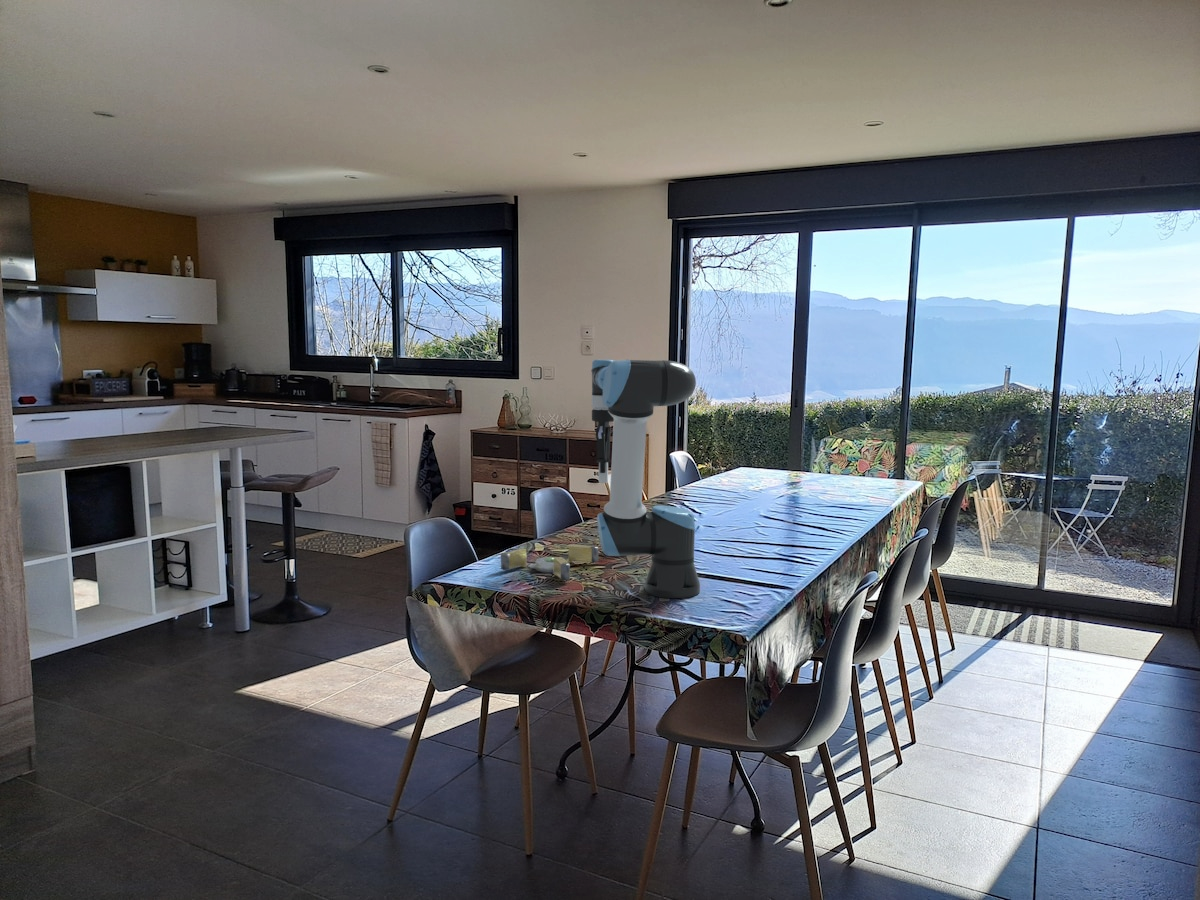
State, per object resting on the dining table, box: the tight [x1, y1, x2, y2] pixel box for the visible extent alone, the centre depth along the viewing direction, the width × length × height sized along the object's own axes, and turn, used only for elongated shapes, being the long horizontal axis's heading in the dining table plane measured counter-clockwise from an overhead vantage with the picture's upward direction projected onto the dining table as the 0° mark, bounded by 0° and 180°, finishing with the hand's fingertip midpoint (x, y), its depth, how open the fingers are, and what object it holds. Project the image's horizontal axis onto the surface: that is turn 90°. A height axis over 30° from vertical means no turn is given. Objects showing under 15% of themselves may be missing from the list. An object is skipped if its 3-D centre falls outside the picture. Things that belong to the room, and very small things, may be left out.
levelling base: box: [529, 556, 555, 575], centre depth 243 cm, size 12×11×3 cm
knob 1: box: [553, 556, 571, 581], centre depth 231 cm, size 10×3×6 cm, turn 18°
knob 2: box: [566, 544, 599, 564], centre depth 248 cm, size 10×3×6 cm, turn 74°
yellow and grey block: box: [500, 548, 528, 571], centre depth 241 cm, size 10×3×6 cm, turn 142°
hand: (603, 482), depth 254 cm, fingers closed
